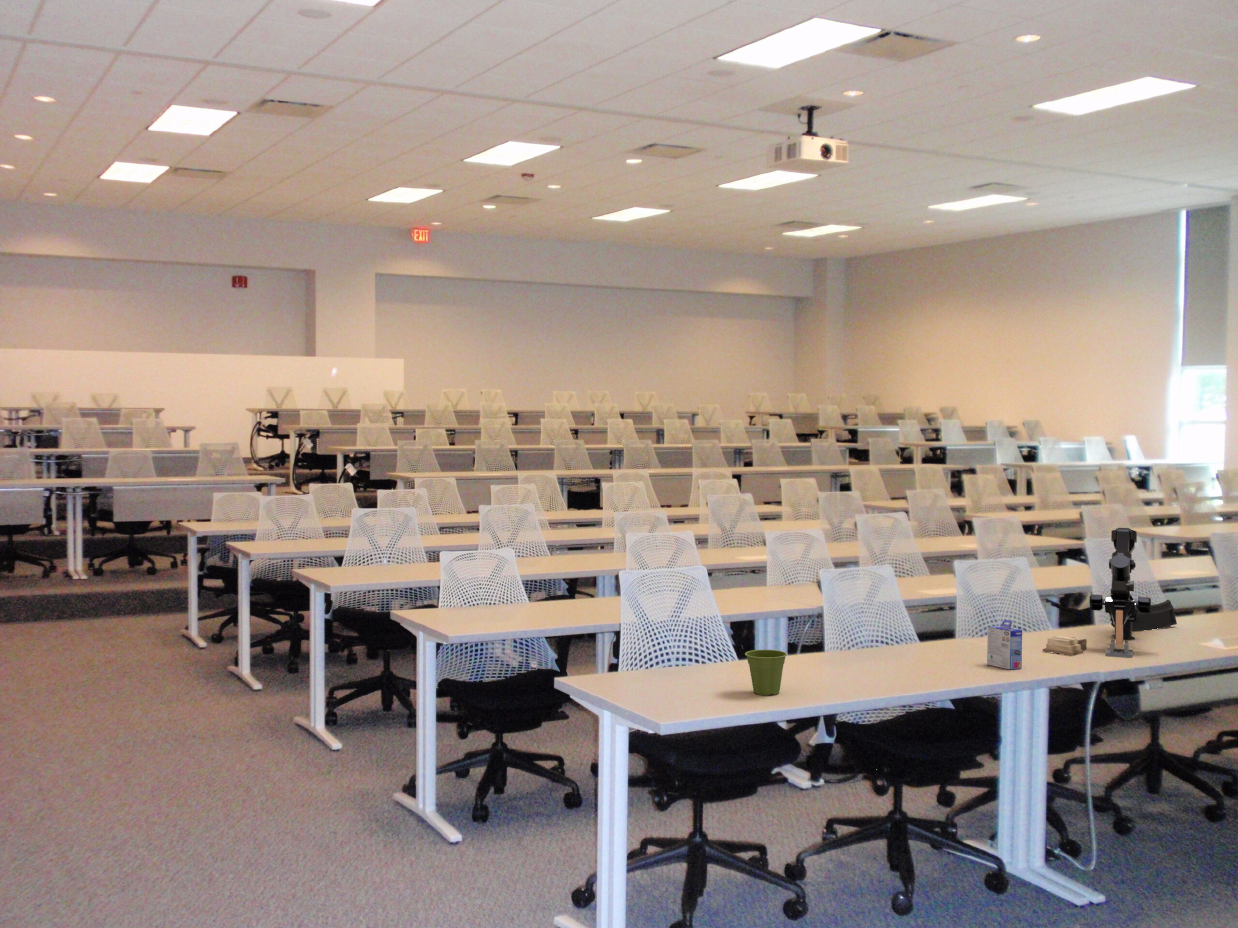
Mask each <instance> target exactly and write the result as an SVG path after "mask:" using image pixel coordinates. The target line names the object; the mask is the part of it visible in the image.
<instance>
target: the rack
mask: <svg viewBox="0 0 1238 928" xmlns="http://www.w3.org/2000/svg"><path fill="white" fill-rule="evenodd" d="M1087 644H1088V643H1087V638H1081V639H1078V638H1076V637H1075V636H1074V637H1065V636H1060V635H1059V636H1057V635H1056V636H1052V637H1047V643H1046V644H1045V645H1046V647H1045V648H1042V652H1043V651H1046V652H1045V653H1047V652H1053V653H1052V654H1054V653H1059V654H1058V655H1060V654H1064V655H1063V656H1067V655H1069V657H1073V656H1076V655H1077V654H1078V655H1080V654H1081V653H1082V654H1084V651H1086V649H1087V648H1088V647H1087ZM1082 654H1081V655H1082ZM1072 655H1073V656H1072Z"/></svg>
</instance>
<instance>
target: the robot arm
mask: <svg viewBox="0 0 1238 928" xmlns="http://www.w3.org/2000/svg"><path fill="white" fill-rule="evenodd" d="M1110 533H1111V535H1110V536H1111V539H1110V540H1111V542H1112V543H1113V549H1114V552H1112V553H1111V558H1109V560H1108V569H1109V570H1111V588H1110V597H1105V598H1103V594H1094V593H1093V594H1090V595H1089V610H1091V611H1095V612H1096V611H1099V612H1100V611H1102V610H1103V608H1104V613H1106V614H1109V616H1110V618H1109V619H1110V621H1111V622H1112V621H1113V622H1114V624H1115V628H1114V634H1111V637H1113V638H1114V640H1116V610H1123V640H1135V639H1136V638H1135V637H1134V636H1133V631H1132V622H1138V611H1139V612H1140V613H1151V605H1152V599H1151V598H1150V597H1149V596H1138V597H1137V600H1135V599H1134V598H1133V596H1132V595H1131V592H1134V591H1135V580H1131V573H1132V571H1134V570H1135V568H1136V566H1137V565H1136V562H1135V560H1134V559H1132V558H1133V556H1132V553H1133V551H1134V550H1135V549H1136V548H1135V546H1136V544H1137V543H1138V532H1137V530H1134V529H1132V528H1129V527H1117V528H1115V529H1113V530H1111V532H1110ZM1103 606H1104V607H1103ZM1137 607H1138V609H1137ZM1132 617H1134V619H1132Z"/></svg>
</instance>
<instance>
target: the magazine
mask: <svg viewBox="0 0 1238 928" xmlns="http://www.w3.org/2000/svg"><path fill="white" fill-rule="evenodd" d="M1137 609H1138V607H1137ZM1132 619H1134V617H1132ZM1177 624H1178V622H1177V618H1176V613H1175V608H1174V606H1173V604H1172V601H1171V600H1170V599H1166V600H1165V601H1162V602H1160V603H1154V604H1151V613H1140V612H1139V611H1138V622H1132V632H1141V631H1142V632H1145V631H1144V630H1147V631H1153V630H1152V629H1157V628H1161V629H1164V627H1165V628H1167V627H1171V626H1175V625H1176V626H1177ZM1110 625H1111V626H1112V627H1113V628H1114V629H1115V624H1114V622H1113V621H1111V622H1110ZM1157 630H1158V629H1157Z"/></svg>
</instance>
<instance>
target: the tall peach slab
mask: <svg viewBox="0 0 1238 928" xmlns="http://www.w3.org/2000/svg"><path fill="white" fill-rule="evenodd" d="M1123 645H1124V639H1123V610H1116V639H1115V646H1123Z"/></svg>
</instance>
